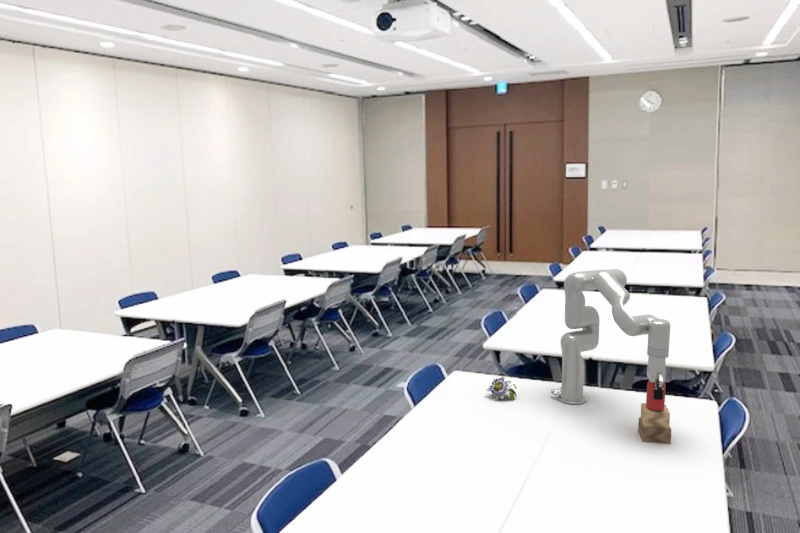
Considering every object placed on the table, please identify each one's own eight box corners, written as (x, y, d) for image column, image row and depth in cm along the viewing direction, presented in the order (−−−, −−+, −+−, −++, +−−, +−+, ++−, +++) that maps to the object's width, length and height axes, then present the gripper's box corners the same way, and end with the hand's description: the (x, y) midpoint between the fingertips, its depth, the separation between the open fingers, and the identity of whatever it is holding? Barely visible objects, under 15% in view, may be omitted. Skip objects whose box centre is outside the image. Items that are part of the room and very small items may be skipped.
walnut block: (642, 442, 238) (643, 427, 237) (638, 431, 248) (638, 417, 247) (670, 444, 236) (671, 429, 235) (664, 433, 246) (665, 419, 245)
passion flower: (496, 411, 284) (481, 389, 284) (505, 399, 293) (490, 378, 293) (515, 402, 277) (500, 380, 278) (523, 390, 286) (508, 369, 286)
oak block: (643, 426, 238) (644, 411, 237) (640, 417, 247) (641, 403, 246) (669, 428, 236) (669, 413, 235) (664, 419, 245) (665, 404, 244)
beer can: (659, 405, 243) (661, 375, 241) (667, 411, 237) (669, 381, 235) (643, 405, 243) (644, 376, 241) (650, 412, 237) (651, 381, 235)
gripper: (643, 345, 246) (641, 386, 248) (652, 357, 229) (649, 402, 232) (663, 345, 244) (661, 387, 247) (673, 359, 227) (670, 403, 230)
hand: (655, 394), depth 239 cm, fingers open, 9 cm apart
